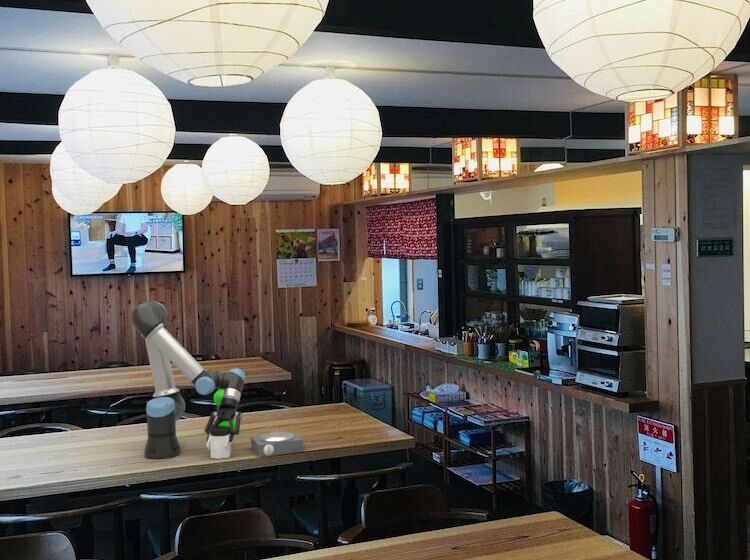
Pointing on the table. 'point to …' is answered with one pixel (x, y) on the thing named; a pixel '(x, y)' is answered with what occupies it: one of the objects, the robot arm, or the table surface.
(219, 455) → the jar
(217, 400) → the plastic bottle
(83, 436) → the table surface
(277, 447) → the scale body
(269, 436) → the scale pan
